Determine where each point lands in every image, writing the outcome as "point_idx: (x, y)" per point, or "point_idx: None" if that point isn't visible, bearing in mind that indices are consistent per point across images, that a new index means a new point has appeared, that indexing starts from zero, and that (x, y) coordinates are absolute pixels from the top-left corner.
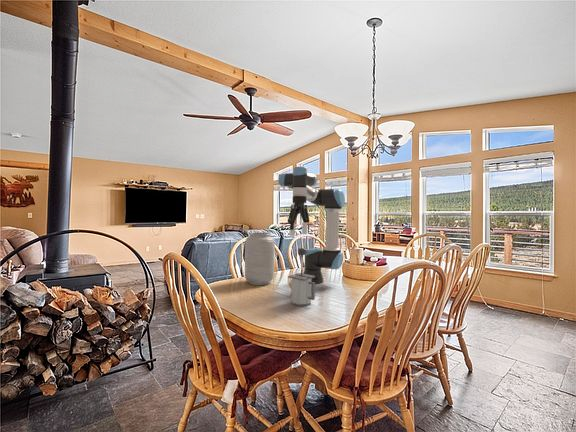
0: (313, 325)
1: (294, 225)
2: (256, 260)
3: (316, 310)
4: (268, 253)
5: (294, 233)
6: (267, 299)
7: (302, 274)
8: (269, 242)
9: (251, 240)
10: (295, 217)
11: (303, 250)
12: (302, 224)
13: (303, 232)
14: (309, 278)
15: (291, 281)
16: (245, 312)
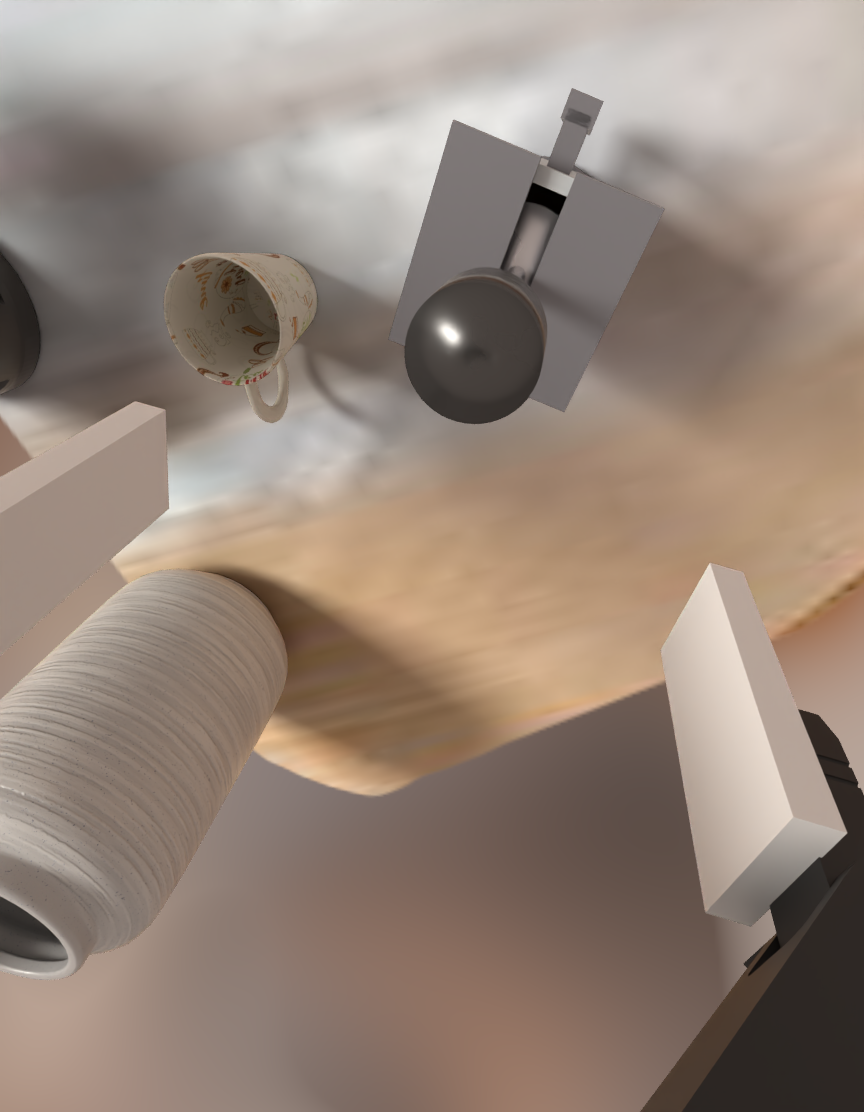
0: None
1: (825, 780)
2: (227, 740)
3: (685, 51)
4: (130, 717)
5: (755, 609)
6: (526, 491)
7: (515, 272)
8: (53, 793)
9: (149, 913)
10: (852, 1103)
11: (537, 316)
12: (16, 639)
13: (149, 495)
14: (534, 175)
15: (272, 416)
16: (810, 537)
